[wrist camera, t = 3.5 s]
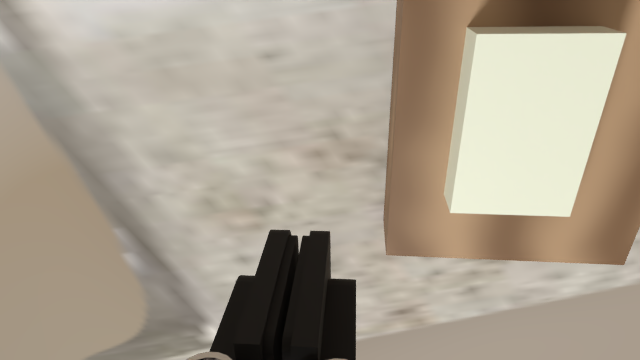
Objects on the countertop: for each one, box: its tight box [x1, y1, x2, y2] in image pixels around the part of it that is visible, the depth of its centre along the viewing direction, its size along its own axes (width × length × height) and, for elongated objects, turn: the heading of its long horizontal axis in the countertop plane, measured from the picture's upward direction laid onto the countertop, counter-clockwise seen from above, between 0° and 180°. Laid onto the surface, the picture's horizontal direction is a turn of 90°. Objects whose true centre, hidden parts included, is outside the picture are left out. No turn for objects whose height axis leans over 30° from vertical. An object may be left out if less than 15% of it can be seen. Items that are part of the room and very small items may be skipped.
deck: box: [384, 0, 640, 265], centre depth 22 cm, size 14×22×4 cm, turn 1°
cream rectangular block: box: [444, 26, 627, 217], centre depth 21 cm, size 6×9×2 cm, turn 1°
